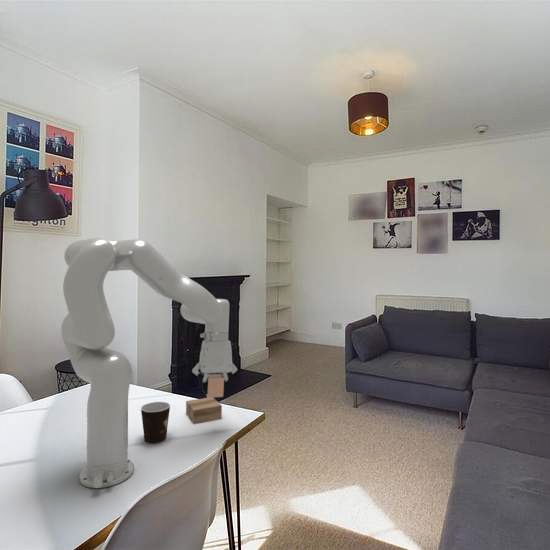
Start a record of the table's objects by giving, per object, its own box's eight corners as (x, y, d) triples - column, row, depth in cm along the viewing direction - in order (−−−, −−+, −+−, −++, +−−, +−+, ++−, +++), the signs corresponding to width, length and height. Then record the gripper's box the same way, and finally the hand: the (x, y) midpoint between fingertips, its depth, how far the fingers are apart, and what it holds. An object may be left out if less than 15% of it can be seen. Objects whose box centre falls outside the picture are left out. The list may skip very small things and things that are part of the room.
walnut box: (221, 419, 130) (221, 405, 130) (193, 424, 125) (193, 410, 125) (212, 410, 139) (212, 396, 139) (186, 414, 134) (186, 401, 134)
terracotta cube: (223, 396, 118) (224, 378, 118) (207, 397, 116) (208, 378, 116) (220, 392, 123) (220, 374, 123) (205, 393, 121) (205, 374, 121)
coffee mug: (156, 430, 120) (157, 399, 120) (175, 436, 115) (176, 405, 115) (126, 444, 110) (126, 411, 110) (145, 452, 105) (145, 417, 105)
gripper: (191, 339, 113) (188, 398, 113) (244, 338, 119) (242, 394, 119) (188, 335, 120) (186, 391, 120) (239, 334, 126) (236, 388, 126)
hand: (214, 392), depth 120 cm, fingers closed on terracotta cube, 5 cm apart
